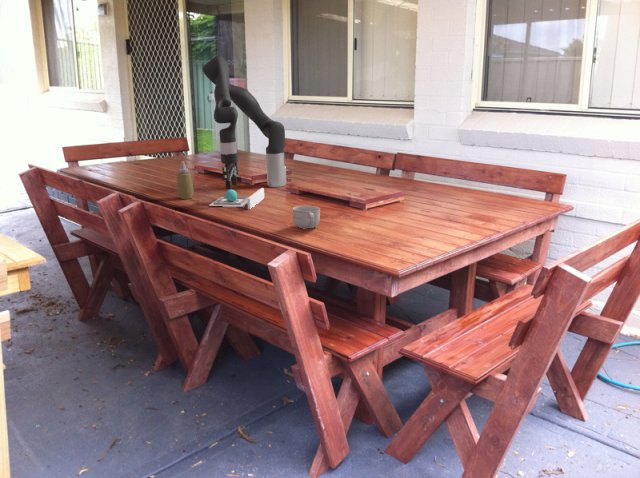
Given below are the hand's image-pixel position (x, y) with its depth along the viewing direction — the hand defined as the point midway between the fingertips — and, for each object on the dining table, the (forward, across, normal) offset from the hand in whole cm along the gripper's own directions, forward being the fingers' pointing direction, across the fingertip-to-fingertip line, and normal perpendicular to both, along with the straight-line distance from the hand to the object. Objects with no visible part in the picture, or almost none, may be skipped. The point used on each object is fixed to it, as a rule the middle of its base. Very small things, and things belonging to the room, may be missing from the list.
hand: (231, 187), depth 277 cm
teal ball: (+4, 0, -1) cm, 4 cm away
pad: (+8, 0, -1) cm, 8 cm away
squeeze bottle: (+8, -8, -26) cm, 29 cm away
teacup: (+8, +39, +43) cm, 59 cm away
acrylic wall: (+8, 0, +11) cm, 14 cm away
